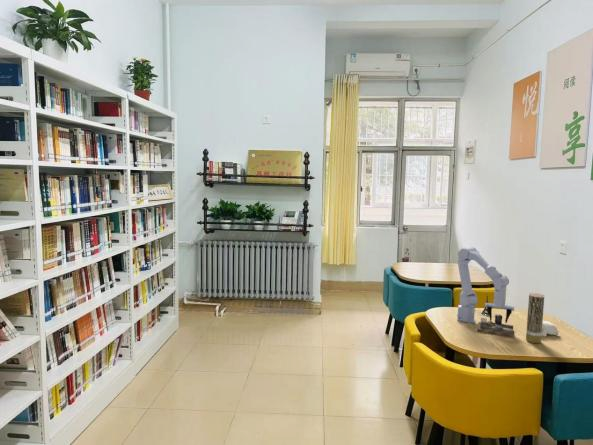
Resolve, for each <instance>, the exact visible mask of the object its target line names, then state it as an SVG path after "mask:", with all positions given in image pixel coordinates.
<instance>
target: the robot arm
mask: <svg viewBox="0 0 593 445" xmlns="http://www.w3.org/2000/svg"><path fill="white" fill-rule="evenodd" d="M457 256H458V258H457V265H458V266H457V267H458V272H459V277H460V279H459V280H460V284H461V292H460V293H459V304H458V306H457V314H456V317H457V318H456V321H457V322H464V323H470V324H475V321H476V318H475V314H476V312H475V310H476V305H477V304H478V302H479V299H478V297H477V295H476V292H475V290H473V287H472V282H471V281H472V280H471V276H470V270H469V263H470V262H471V261H475V262H476V263H477V264H478V265H479V266H480V267H481V268H482V269H483V270H484V273H485V274H486V275H487V276H488V277H489V279H491V281H492V285H493V286H494V293H493V296H494V297H493V303H489V302H488V303H486V302H485V303H484V308H485V307H486V309H487V310H488V312H487V313H489V316H490V317H489V321H492V314H491V313H492V310H493V309H499V310H505V311H506V312H505V314H506V315H505V321H504V324H507V323H508V320H509V317H510V316H511V315H512V312H514V311H515V306H511V305H508V304H507V305H506V300H507V299H506V298H507V286H508V285H509V283H510V279H509V277H508V276H507V275H503V274H502V273H501V272H499V271H498V269H497V267H496V266H493V265H490V264H489V263H488V261H486V260H485V258H483V256H482V255H481V254H480V252H479V250H477V249H476V248H475V247H468V248H467V247H466V248H465V247H464V248H463V247H462V248H461V249H459V251H458V252H457Z"/></svg>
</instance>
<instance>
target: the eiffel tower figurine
mask: <svg viewBox="0 0 593 445" xmlns="http://www.w3.org/2000/svg"><path fill="white" fill-rule="evenodd" d="M488 297H489V295H488V294H487V295H486V300H485V303H489V298H488ZM475 311H476V309H475ZM476 312H477V311H476ZM480 313H481V314H482V315H483V316H482V315H481V316H482V317H485V318H487V317H489V318H490V316H489V313H488V310H487V307H485V306H484V308H483V310H482V312H480ZM485 314H486V315H485ZM491 315H492V313H491ZM493 318H495V315H494V316H493Z"/></svg>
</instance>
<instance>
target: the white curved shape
mask: <svg viewBox="0 0 593 445" xmlns="http://www.w3.org/2000/svg"><path fill="white" fill-rule="evenodd" d="M559 333H560V331H559V330H558V328H557V326H556V325H554V323H552V322H550V321H546V320H543V322H542V335H541V337H543V338H545V337H547V335H556V336H558V335H559Z"/></svg>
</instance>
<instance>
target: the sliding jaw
mask: <svg viewBox="0 0 593 445" xmlns="http://www.w3.org/2000/svg"><path fill="white" fill-rule="evenodd" d="M494 323H495V328H500V329H501V324H503V315H502V314H495V315H494Z"/></svg>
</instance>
